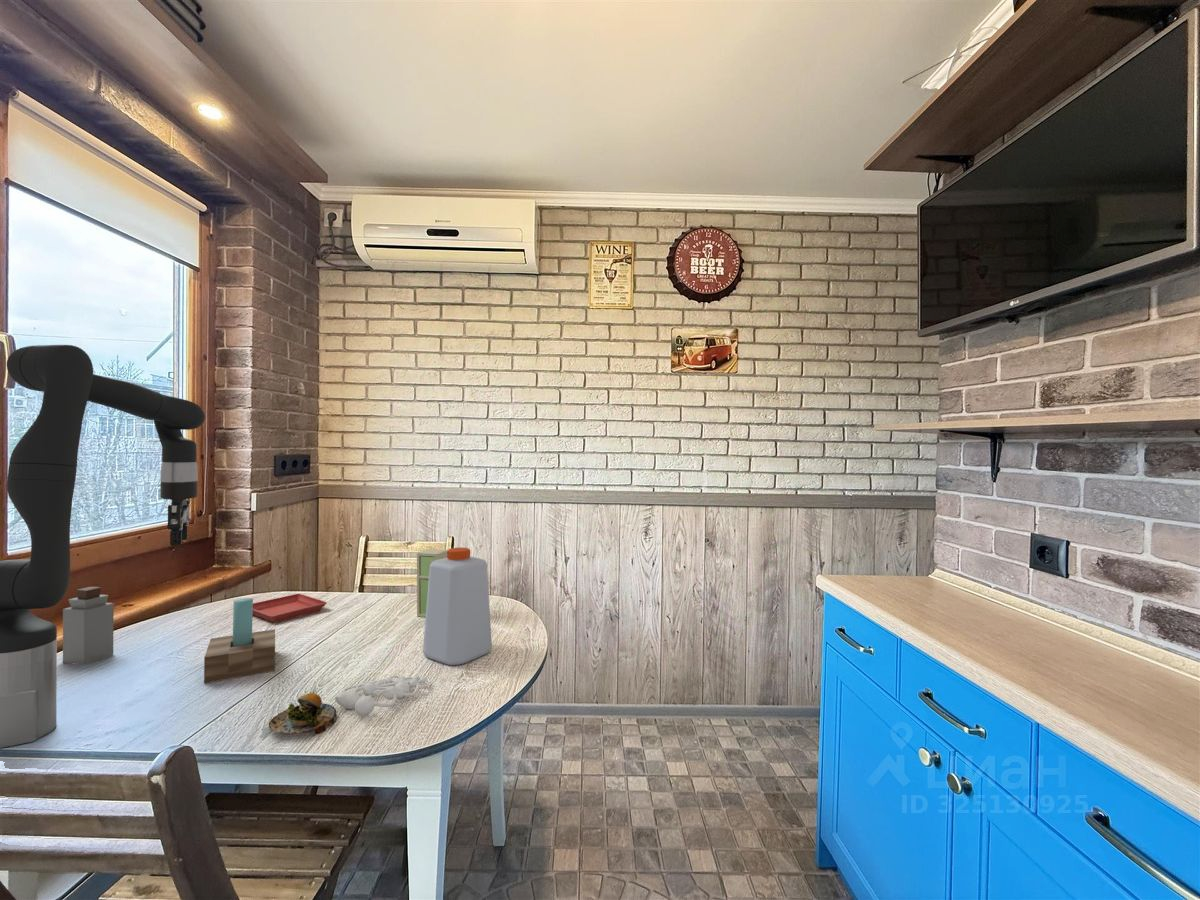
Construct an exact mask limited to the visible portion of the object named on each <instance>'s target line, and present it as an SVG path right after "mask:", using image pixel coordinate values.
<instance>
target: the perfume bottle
mask: <svg viewBox="0 0 1200 900" xmlns="http://www.w3.org/2000/svg"><path fill="white" fill-rule="evenodd" d="M101 589H102V587H101V586H88V587H83V588H79V589H76V596H77V597H73V598H69V599H68V602H69V605H70V606H69V607H66V608H62V663H64V662H68V663H67V664H72V663H75V665H80V664H81V665H82V666H84V665H88V664H90V663H91V664H92V663H94V662H96V661H99V660H103V659H105V658H107V656H108V657H110V655H111V656H113V655H114V622H115V621H114V611H115V610H114V607H115V606H114V605H115V603H114V602H108V598H109V594H101ZM93 661H94V662H93ZM87 663H88V664H87Z"/></svg>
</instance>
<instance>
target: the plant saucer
mask: <svg viewBox="0 0 1200 900" xmlns="http://www.w3.org/2000/svg"><path fill="white" fill-rule="evenodd" d="M327 603H328V602H327V601H324V600H321V599H318V598H315V597H312V596H308V595H305V594H302V593H295V594H290V595H286V596H281V597H276V598H272V599H267V600H263V601H258V602H253V616H255V617H258V618H261V619H264V620H267V621H268V622H271V623H278V622H281V621H285V620H290V619H293V618H296V617H297V618H298V617H301V616H305V615H309V614H313V613H316V612H320V611H321V610H322V609H323V608H324V607H325V606H326V604H327Z"/></svg>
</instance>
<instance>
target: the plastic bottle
mask: <svg viewBox="0 0 1200 900" xmlns="http://www.w3.org/2000/svg"><path fill="white" fill-rule="evenodd" d="M447 550H448V551H447V558H443V559H439V560H435V561H433V562H432V563H431V564H430V569H429V581H428V594H427V606H426V617H425V619H424V620H425V621H424V632H423V633H424V634H423V644H422V645H423V646H422V654H423V656H425V657H426V658H428V659H431V660H433V661H436V662H439V663H442V664H444V665H449V666H458V665H460V666H461V665H463V664H467V663H469V662H471V661H473V660H476V659H478V658H480V657H482V656H485V655H486V654H489V653H490V651H491V650H492V647H493V644H492V642H493V641H492V628H491V627H492V626H491V623H492V622H491V611H490V610H491V609H490V594H489V592H490V591H489V577H488V563H487V561H486V560H485V559H483V558H480V557H474V556H471V549H469V547H452V548H449V549H447Z"/></svg>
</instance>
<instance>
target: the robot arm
mask: <svg viewBox="0 0 1200 900" xmlns="http://www.w3.org/2000/svg"><path fill="white" fill-rule="evenodd" d="M6 370H7V372H8V375H9V376H10V377H11V379H12V380H13V381H14V382H15V383H17V384H18V385H19V386H21V387H23V388H25V389H27V390H32V391H35V392H42V393H43V396H42V397H43V398H42V403H41V407H40V411H39V413H38V415H37V416H36V418H35V420H34V421H33V423H32V424H31V426H30V427H29V428H28V429H27V431H26V432H25V433H24V434H23V435H22V437H21V438H20V439H19V441H18V442H17V444H16V445H15V446H14V448H13V450H12V452H11V455H10V458H9V463H8V472H7V477H6V478H7V479H6V493H7V495H8V497H9V499H10V501H11V503H12V504H13V506H14V508H15V509H16V511H17V512H18V514H19V515H20V517H21V518H22V519H23V520H22V521H24V522H25V524H26V526H27V528H28V532H29V535H30V541H31V543H30V544H31V545H30V546H31V547H30V559H29V558H28V559H27V558H26V559H25V558H24V559H23V558H22V559H5V560H0V749H2V748H7V747H12V746H16V745H17V746H18V745H21V744H28V743H33V742H36V741H37V740H38V739H39V738H41V737H43V736H45V735H47V734H49V733H51V732H53V730H55V729H56V727H57V706H58V705H57V691H58V690H57V689H58V687H57V675H58V674H57V669H58V668H57V667H58V666H57V662H58V661H57V660H58V658H57V656H58V655H57V653H58V649H57V648H58V638H57V637H58V635H57V634H58V631H57V630H58V629H57V625H56V624H55V623H54V622H51V621H49V620H46V619H43V618H40V617H39V616H36V615H35V614H34V613H33V612H31V610H34V609H35V610H38V609H47V608H48V609H49V608H52V607H54V606H56V605H57V604H59V603H60V602H61V601H62V599H63V598H64V597H65V595H66V593H67V592H68V591H67V590H68V588H69V584H70V579H71V521H72V519H71V518H72V510H73V509H72V507H73V497H74V492H75V487H76V480H77V479H76V477H77V470H78V469H77V467H78V456H79V455H78V453H79V447H80V442H81V441H80V440H81V434H82V433H81V432H82V427H83V426H82V425H83V421H84V415H85V411H86V407H87V403H88V402H90V403H94V404H98V405H102V406H104V407H108V408H111V409H113V410H117V411H120V412H122V413H126V414H129V415H131V416H135V417H136V418H137V417H138V418H141V419H145V420H147V421H153V424H154V426H155V427H154V428H155V429H156V433H157V436H158V439H159V443H160V445H161V467H160V486H159V487H160V490H159V491H160V493H159V494H160V495H159V496H160V499H162V500H171V504H168V506H167V526H166V527H167V530H168V531H169V545H170V547H177V546H181V545H182V541H186V540H188V534H189V533H188V526H189V524H190V521H191V518H190V517H191V514H190V513H191V511H190V510H191V505H190V503H191V501H190V499H195V498H197V497H198V494H199V493H198V492H199V491H198V484H199V482H198V479H199V478H198V477H199V475H198V474H199V473H198V472H199V471H198V464H197V463H198V462H197V455H198V453H197V450H198V449H197V443H196V441H194V440H192V439H188V438H185V437H184V435H183V432H182V430H187V431H191V430H195V429H198V428H200V427H201V426H202V425H203V424H204V423H205V420H206V414H205V411H204V410H203V408H202V407H201V406H200V405H198V404H197V403H195V402H193V401H191V400H187V399H183V398H180V397H176V396H172V395H167V394H162V393H160V392H158V391H156V390H154V389H151V388H148V387H146V386H144V385H141V384H137V383H134V382H130V381H126V380H122V379H118V378H117V379H116V378H113V377H108V376H103V375H101V374H100V375H99V374H95V373H94V365H93V362H92V359H91V357H90V355H89V354H88V353H87V352H86V351H85V350H84V349H82V348H81V347H78V346H76V345H72V344H38V345H27V346H24V347H23V346H22V347H20V348H16V349H15V350H14V351H13V352H11V354H10V355H9V356H8V358H7V360H6Z"/></svg>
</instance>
